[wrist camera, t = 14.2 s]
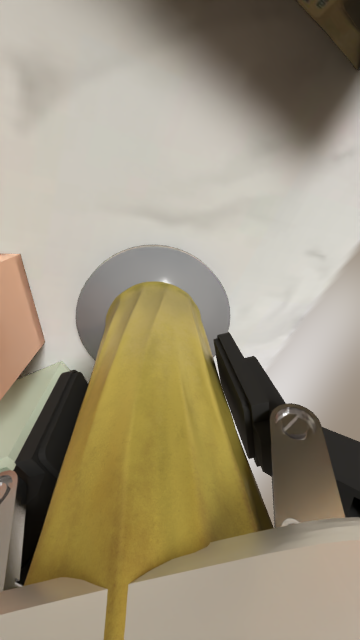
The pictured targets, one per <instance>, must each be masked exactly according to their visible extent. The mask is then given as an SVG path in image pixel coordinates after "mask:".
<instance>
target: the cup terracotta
mask: <svg viewBox="0 0 360 640" xmlns="http://www.w3.org/2000/svg"><path fill="white" fill-rule="evenodd" d="M44 342H45V340H44V337H43V333H42V330H41V326H40V323H39V319H38V315H37V312H36V308H35V305H34V301H33V298H32V294H31V291H30V287H29V284H28V280H27V277H26V273H25V269H24V266H23V262H22V259H21V255H20V254H0V400H1V399H2V398H3V396H4V395H5V394H6V392H7V391H8V390H9V388H10V387H11V386H12V385H13V383H14V382H15V381H16V379H17V378H18V377H19V375H20V374H21V373H22V371H23V370H24V369H25V367H26V366H27V365H28V364H29V362H30V361H31V360H32V358H33V357H34V356H35V354H36V353H37V352H38V350H39V349H40V348H41V346H42V345H43V344H44Z"/></svg>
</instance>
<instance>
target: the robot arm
mask: <svg viewBox="0 0 360 640" xmlns="http://www.w3.org/2000/svg"><path fill="white" fill-rule="evenodd" d="M213 341H214V347H215V352H216V358H217V364H218V369H219V375H220V381H221V385H222V388H223V391H224V394H225V397H226V399H227V402H228V405H229V407H230V410H231V413H232V416H233V418H234V420H235V424H236V426H237V429H238V432H239V434H240V437H241V440H242V443H243V445H244V448H245V450H246V453H247V456H248V458H249V459H250V458H254V460H255V463H256V465H257V467H258V466H261V468H262V470H263V472H265V473H267V474H268V475H270V476H271V477H272V489H273V508H274V527H275V528H273V529H268V530H264V531H259V532H254V533H249V534H245V535H240V536H236V537H232V538H227V539H223V540H218V541H214V542H210V544H209V545H208V547H206V548H203V549H201V550H199V551H197V552H195V553H192V554H188V555H185V556H181V557H178V558H174V559H172V560H170V561H168V562H166V563H164V564H162V565H160V566H158V567H156V568H154V569H152V570H150V571H148V572H147V573H145V574H144V575H142V576H141V577H139V578H138V579H136V580H135V581H133V582H131V583H130V584H128V594H127V608H126V621H125V632H124V640H360V442H358V441H356V440H353V439H351V438H348V437H345V436H343V435H341V434H338V433H336V432H333V431H330V430H328V429H326V428H323V427H321V424H320V422H319V419H318V418H317V417H316V416H315V415H314V414H313V412H311V411H310V410H308V409H307V408H305V407H303V406H300V405H297V404H292V403H291V404H286V403H285V402H284V400H283V399H282V397H281V395H280V394H279V392H278V391H277V389H276V388H275V386H274V385H273V383H272V382H271V380H270V379H269V377H268V375H267V374H266V372H265V371H264V369H263V368H262V366H261V365H260V363H259V362H258V360H257V359H256V357H254V356H252V357H248V358H244V357H243V355H242V354H241V352H240V350H239V348H238V347H237V345H236V343H235V341H234V340H233V338H232V336H231V334H230V333H229V332H228V333H224V334H219V335H217V338H216V339H213ZM87 387H88V383H87V381H86V380H85V378H84V376H83V375H82V373H81V372H77V371H76V370H72V371H68V372H64V373H61V375H60V377H59V378H58V380H57V382H56V384H55V386H54V388H53V390H52V392H51V394H50V396H49V397H48V399H47V401H46V403H45V405H44V407H43V409H42V411H41V413H40V415H39V417H38V418H37V420H36V422H35V424H34V426H33V428H32V430H31V432H30V434H29V436H28V438H27V439H26V441H25V443H24V445H23V447H22V449H21V451H20V453H19V455H18V457H17V459H16V460H15V462H14V463H15V464H16V466H15V468H14V470H13V471H12V470H8V471H3V472H1V473H0V640H104V629H105V618H106V606H107V593H108V589H106V588H103V587H99V586H96V585H94V584H92V583H89V582H87V581H84V580H81V579H75V578H68V577H60V578H55V579H51V580H47V581H43V582H39V583H35V584H30V585H26V586H24V583H25V580H26V577H27V574H28V571H29V568H30V565H31V562H32V559H33V556H34V553H35V549H36V546H37V543H38V540H39V537H40V534H41V531H42V528H43V524H44V521H45V518H46V515H47V511H48V508H49V505H50V501H51V498H52V495H53V492H54V488H55V485H56V482H57V479H58V476H59V473H60V470H61V466H62V463H63V460H64V457H65V454H66V452H67V449H68V446H69V443H70V440H71V436H72V433H73V430H74V427H75V423H76V420H77V417H78V414H79V411H80V408H81V405H82V402H83V399H84V396H85V393H86V390H87Z"/></svg>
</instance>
